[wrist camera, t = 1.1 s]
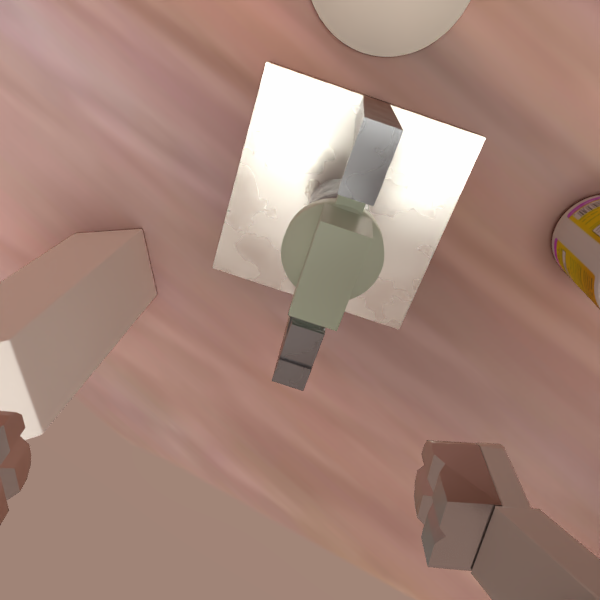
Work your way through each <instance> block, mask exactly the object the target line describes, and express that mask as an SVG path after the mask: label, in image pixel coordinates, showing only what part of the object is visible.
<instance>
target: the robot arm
mask: <svg viewBox="0 0 600 600" xmlns="http://www.w3.org/2000/svg"><path fill="white" fill-rule="evenodd" d="M24 429H25V424H24V420H23V417H22V415H21V414H19V413H17V412H9V411H0V525H1V523H2V522H3V520H4V518H5V516H6V515H7V513H8V511H9V508H8V504H7V500H8V499H10V498H11V497H13V496H14V495H16V494H17V493H19V492H20V490H21V489H22V487H23V485H24V484H25V482H26V480H27V477H28V473H29V469H30V465H31V451H30V446H29V444H28V443H27V442H26V441H25V440H24V439H23V438H22V437H21V436H20V435H21V434H22V432H23V431H24ZM422 458H423V463H424V466H422V467H421V468H420V469H419V470H417V475H416V480H415V490H414V499H415V508H416V513H417V518H418V519H419V520H420V521H421V522H422V523H423V524H424V528H423V532H422V536H421V538H422V542H423V547H424V552H425V556H426V561H427V565H428V567H434V568H445V569H456V570H467V571H472V572H471V574H472V575H473V576H474V577H475V579H476V580H477V581H478V582H479V584H480V585H481V586H482V587H483V589H484V590H485V591H486V592H487V594H488V595H489V596H490V597H491V599H492V600H600V559H599V558H597V557H596V556H595V555H594V554H593V553H591V552H590V551H589V550H588V549H587V548H585V547H584V546H583V545H582V544H581V543H579V542H578V541H577V540H576V539H574V538H573V537H572V536H571V535H570V534H568V533H567V532H566V531H565V530H564V529H562V528H561V527H560V526H559V525H558V524H556V523H555V522H554V521H553V520H552V519H550V518H549V517H548V516H547V515H546V514H544V513H543V512H542V511H541V510H540V509H533V508H531V506H530V504H529V502H528V500H527V497H526V495H525V493H524V491H523V488H522V486H521V484H520V482H519V479H518V477H517V475H516V473H515V470H514V468H513V466H512V464H511V461H510V459H509V457H508V455H507V452H506V450H505V448H504V447H503V446H502V445H501V444H490V443H467V442H450V441H434V440H427V441H426V443H425V444H424V447H423V451H422Z"/></svg>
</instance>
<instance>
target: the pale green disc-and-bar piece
mask: <svg viewBox="0 0 600 600" xmlns="http://www.w3.org/2000/svg"><path fill="white" fill-rule="evenodd" d="M365 205H366V204H365V203H362V202H359V201H356V200H353V199H350V198H347V197H344V196H341V195H337V198H326V199H321V200H317V201H315V202H312V203H310V204H308V205H306V206H305V207H303V208H302V209H301V210H300V211H299V212H298V213H297V214H296V215H295V216H294V217H293V219H292V220H291V222H290V223H289V225H288V228H287V230H286V233H285V235H284V238H283V241H282V245H281V260H282V265H283V268H284V271H285V273H286V275H287V277H288V278H289V280H290V281H291V283H292V284H293V285H294V286H295V287H296V288H295V291H294V295H293V298H292V302H291V306H290V309H289V313H288V315H289V316H292V317H295V318H298V319H301V320H304V321H307V322H310V323H313V324H316V325H319V326H322V327H326V328H329V329H332V330H335V331H337V329H338V327H339V324H340V322H341V319H342V317H343V314H344V312H345V309H346V306H347V304H348V301H349V300H350V299H353V298H355V297H357V296H359V295H361V294H363V293H364V292H366V291H367V290H368V289H369V288H370V287H371V286H372V285H373V284H374V283H375V281H376V280H377V278H378V276H379V274H380V272H381V270H382V267H383V263H384V244H383V237H382V233H381V230H380V227H379V225H378V223H377V222H376V220H375V219H374V217H373V216H372V215H371V214H370V213H369V212H368V211H367V210H366V209H365Z"/></svg>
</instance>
